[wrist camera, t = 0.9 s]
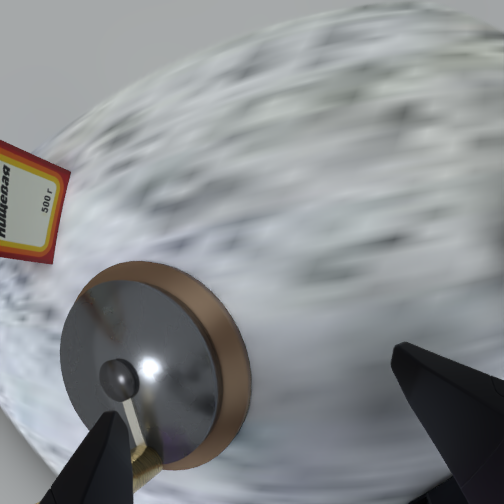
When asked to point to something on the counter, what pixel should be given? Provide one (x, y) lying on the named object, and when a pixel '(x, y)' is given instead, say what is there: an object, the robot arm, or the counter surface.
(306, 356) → the counter surface
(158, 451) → the grey disc with post
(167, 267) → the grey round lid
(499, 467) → the robot arm
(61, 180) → the baking soda box
